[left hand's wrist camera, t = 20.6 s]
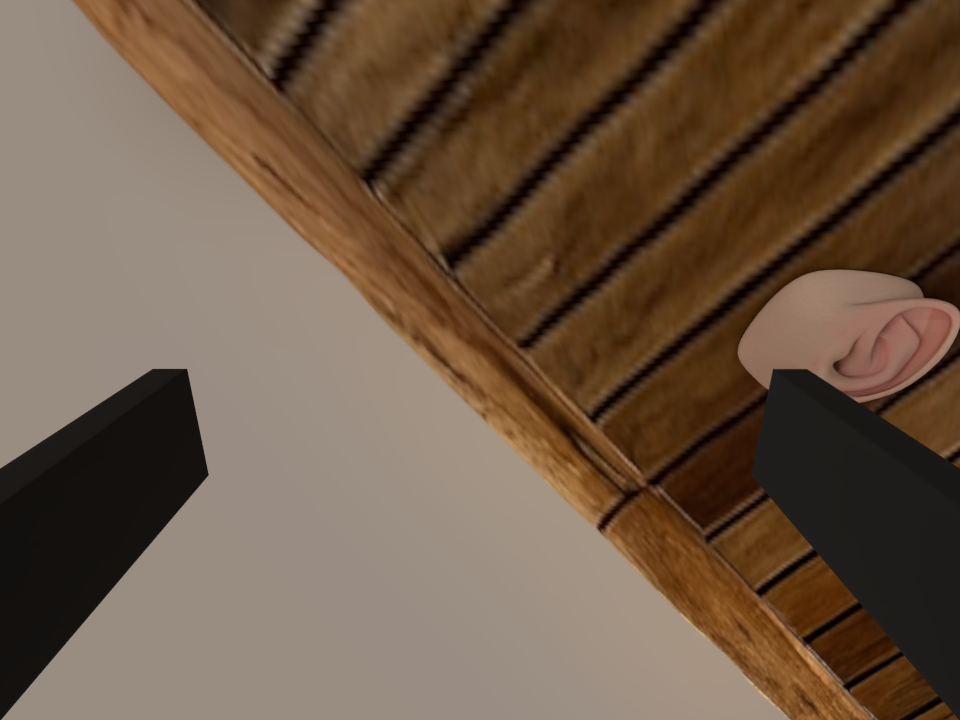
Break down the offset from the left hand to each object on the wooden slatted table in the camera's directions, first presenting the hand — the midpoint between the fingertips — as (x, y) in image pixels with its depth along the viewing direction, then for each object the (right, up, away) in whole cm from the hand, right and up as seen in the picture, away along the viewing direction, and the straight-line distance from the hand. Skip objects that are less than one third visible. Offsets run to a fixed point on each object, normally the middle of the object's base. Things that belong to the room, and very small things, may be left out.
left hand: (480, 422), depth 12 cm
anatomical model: (+28, +3, +31) cm, 41 cm away
